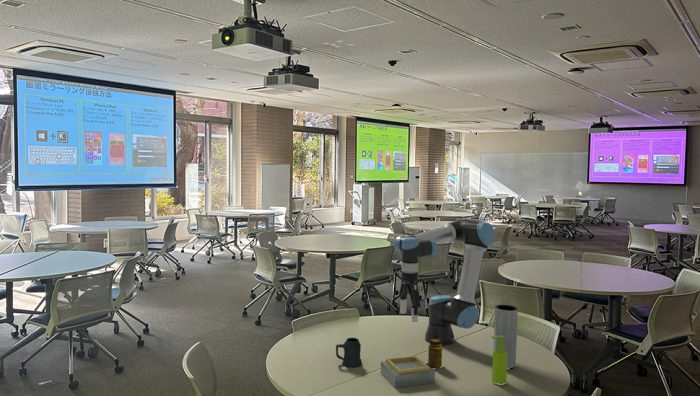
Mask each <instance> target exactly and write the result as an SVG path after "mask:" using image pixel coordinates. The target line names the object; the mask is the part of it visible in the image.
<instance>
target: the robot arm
mask: <svg viewBox="0 0 700 396" xmlns="http://www.w3.org/2000/svg"><path fill="white" fill-rule="evenodd" d="M495 239H496V233H495V228H494V227H493V226H492V224H491V223H490V222H486V221H482V220H471V219H460V220H454V221H452V222H451V221H450V222H447V223H445V224H443V226H441V227H437V228H433V229H430V230H426V231H422V232H419V233H415V234H413V235H412V234H411V235H407V236H404V235H401V236H400V235H399V236H397V237H395V238H394V241H393V247H394V249H395V250H396V251H397V252H400V253H401V265H400V267H401V275H400V276H401V283H400V287H399V292H398V298H400V305H399V306H400V310H399V311H400V312H399V314H407V301H408V298H407V296H408V295H409V298H410V300H411V323H418V322H419V308H421V301H420V295H419V285H418V284H416V283H415V282H417V281H418V280H419V258H426V257H432V256H435V255H436V254H437V253H438V251H439V245H438V244H441V243H444V242H455V241H456V242H462V243H463V242H464V245H463V246H464V247H465V253H464V254H465V255H464V258H463V263H462V269H461V274H460V276H459V282H458V287H457V290H456V292H457V293H456V295H454V296H453V297H452V296H451V295H446V294H445V295H444V294H443V295H442V294H441V295H433V296H431V297H430V298H429V301H428V302H429V303H428V325H427V328H426V331H425V333H424V334H425V335H424V339H425V341H426V342H427V343H430V339H440V340H441V345H450V344H453V343H454V342H455V334H454V331H453V328H452V326H455V327H458V328H461V329H466V330H468V329H471V328H472V327H474V326H475V325H476V323H477V322H478V319H479V315H480V314H479V309H478V307H476V305H477V302H476V300H475V295H476V289H477V284H478V280H479V276H480V271H481V266H482V261H483V257H484V253H485V252H486V251H488V247H489V246H491V245H493V244H494V242H495Z"/></svg>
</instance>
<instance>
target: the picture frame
mask: <svg viewBox="0 0 700 396" xmlns="http://www.w3.org/2000/svg"><path fill="white" fill-rule="evenodd" d="M380 374H381V375H382V376H383V377H384V378H385V380H387V381H388V382H389V383H390V385H392V387H394V388H395V389H396V388H397V389H398V388H406V387H412V386H420V385H428V384H429V385H430V384H435V382H436V381H435V379H436V378H435V377H436V371H435V370H433V369H432V368H430V367H429V366H428V365H427V364H426V363H425V362H424V361H423V360H422V359H421V358H420V357H418V356H416V355H410V356H409V355H408V356H400V357H390V358H385V361H383V360H382V361H380Z"/></svg>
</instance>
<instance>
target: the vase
mask: <svg viewBox="0 0 700 396" xmlns="http://www.w3.org/2000/svg"><path fill="white" fill-rule="evenodd" d="M518 314H519V312H518V308H517V306H514V305H509V304H497V305H495V306H494V317H493V318H494V322H493V324H494V325H493V326H494V327H493V336H496V335H499V336H504V337H505V339H503V344H505V349H504V351H506V352H507V368H512V367H515V368H516V366H515V365H516V363H517V361H516V360H517V340H518V339H517V337H518ZM498 341H499V338H495V339H493V350H492V352H493V351H494V350H496V343H498Z"/></svg>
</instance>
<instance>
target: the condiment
mask: <svg viewBox="0 0 700 396" xmlns="http://www.w3.org/2000/svg"><path fill="white" fill-rule="evenodd" d="M442 356H443V346H442V344H441V340H440V339H430V342H429V345H428V357H427V358H428V360H427V363H425V364H427V365H428V366H429V367H430V368H432V369H433V368H440V367H441V365H442V363H443V361H442V360H443V357H442ZM440 369H441V368H440ZM433 370H434V371H435V370H436V369H433Z"/></svg>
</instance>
